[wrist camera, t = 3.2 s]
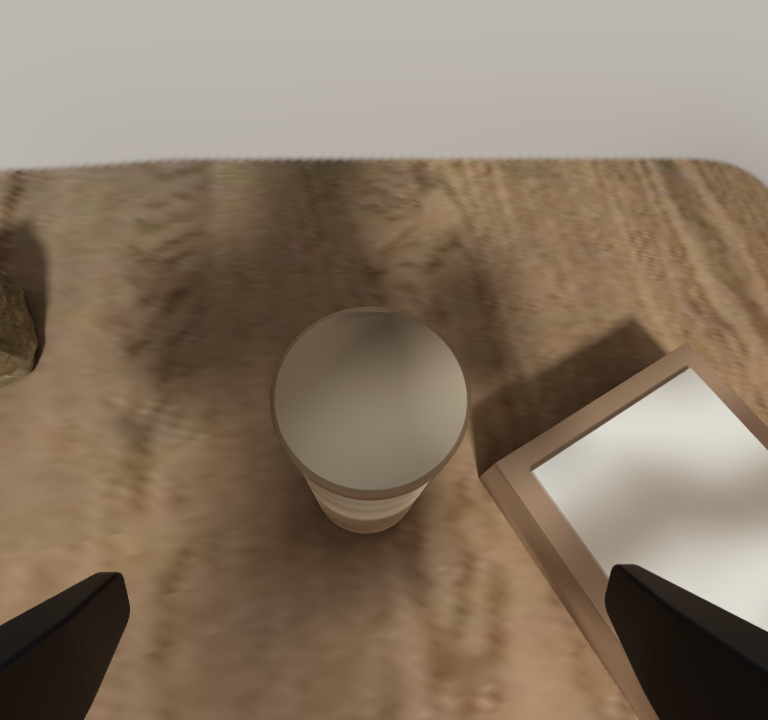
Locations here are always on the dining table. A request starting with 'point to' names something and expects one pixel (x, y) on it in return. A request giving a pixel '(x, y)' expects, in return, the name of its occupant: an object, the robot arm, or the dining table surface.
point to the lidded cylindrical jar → (369, 412)
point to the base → (646, 499)
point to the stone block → (15, 332)
